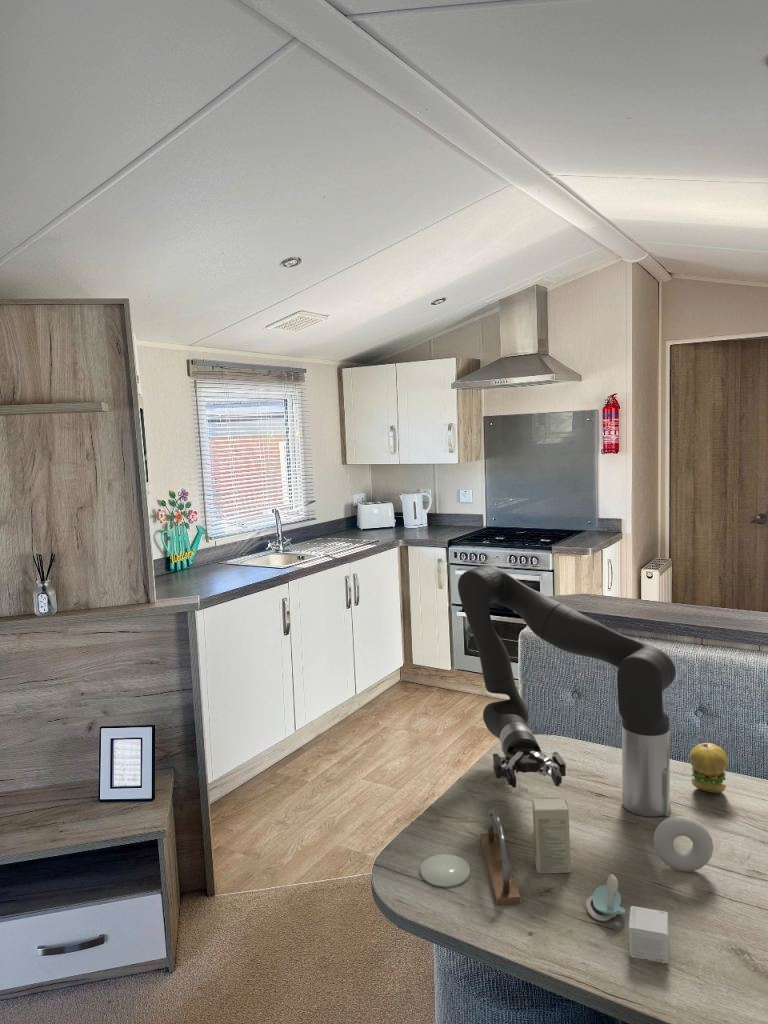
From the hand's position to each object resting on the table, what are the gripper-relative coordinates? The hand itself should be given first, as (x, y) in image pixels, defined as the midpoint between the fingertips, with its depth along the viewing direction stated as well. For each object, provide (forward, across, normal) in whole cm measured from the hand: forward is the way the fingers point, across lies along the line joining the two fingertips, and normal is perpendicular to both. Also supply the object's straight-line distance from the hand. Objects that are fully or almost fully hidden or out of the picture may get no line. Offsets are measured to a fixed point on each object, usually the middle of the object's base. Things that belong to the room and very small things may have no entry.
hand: (536, 782), depth 144 cm
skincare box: (+11, 0, +11) cm, 15 cm away
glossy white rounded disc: (+11, -19, +11) cm, 24 cm away
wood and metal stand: (+11, -9, +11) cm, 18 cm away
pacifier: (+23, +6, +11) cm, 26 cm away
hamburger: (-13, +40, +11) cm, 43 cm away
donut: (+14, +23, +11) cm, 29 cm away
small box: (+33, +10, +11) cm, 36 cm away
